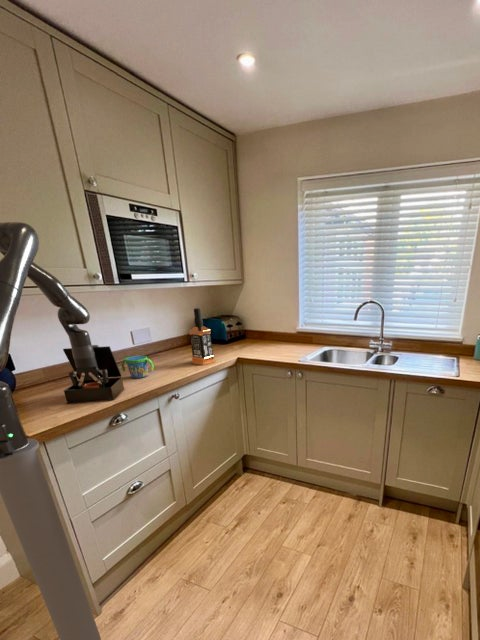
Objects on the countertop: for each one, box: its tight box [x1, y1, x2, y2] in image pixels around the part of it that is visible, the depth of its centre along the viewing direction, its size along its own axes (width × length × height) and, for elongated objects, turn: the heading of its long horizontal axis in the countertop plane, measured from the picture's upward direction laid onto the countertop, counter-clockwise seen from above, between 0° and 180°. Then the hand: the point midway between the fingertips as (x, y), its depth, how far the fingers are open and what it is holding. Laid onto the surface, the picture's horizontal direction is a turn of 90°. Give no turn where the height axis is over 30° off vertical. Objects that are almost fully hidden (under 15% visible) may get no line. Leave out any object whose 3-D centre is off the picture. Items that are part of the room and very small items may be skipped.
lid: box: [62, 344, 123, 381], centre depth 147 cm, size 16×18×5 cm
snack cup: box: [121, 355, 155, 379], centre depth 172 cm, size 16×10×10 cm
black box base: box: [63, 376, 125, 405], centre depth 145 cm, size 16×18×6 cm
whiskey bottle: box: [188, 307, 216, 366], centre depth 196 cm, size 10×10×32 cm
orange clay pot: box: [83, 382, 100, 389], centre depth 142 cm, size 6×6×6 cm
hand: (93, 393), depth 143 cm, fingers closed on orange clay pot, 6 cm apart
